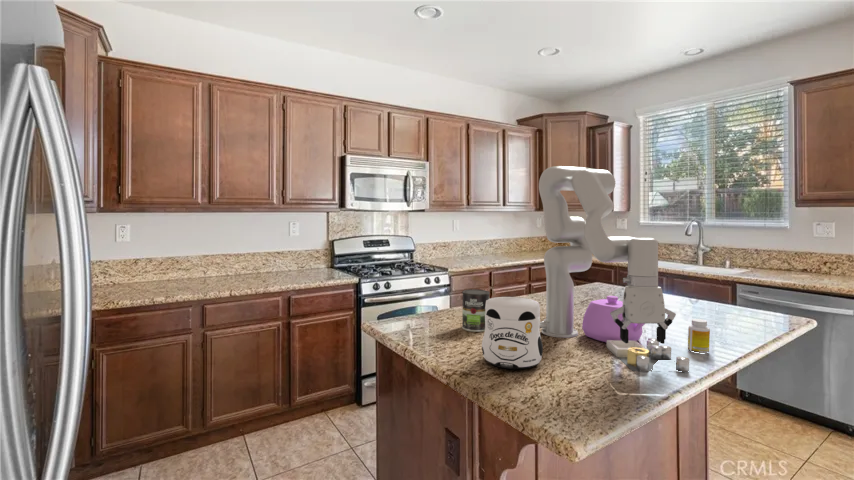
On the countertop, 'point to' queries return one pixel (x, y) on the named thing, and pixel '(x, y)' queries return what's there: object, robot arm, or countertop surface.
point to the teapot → (607, 321)
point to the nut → (635, 352)
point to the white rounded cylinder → (512, 333)
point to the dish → (622, 347)
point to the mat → (633, 368)
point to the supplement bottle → (698, 336)
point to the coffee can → (474, 310)
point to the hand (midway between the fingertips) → (642, 342)
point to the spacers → (660, 357)
